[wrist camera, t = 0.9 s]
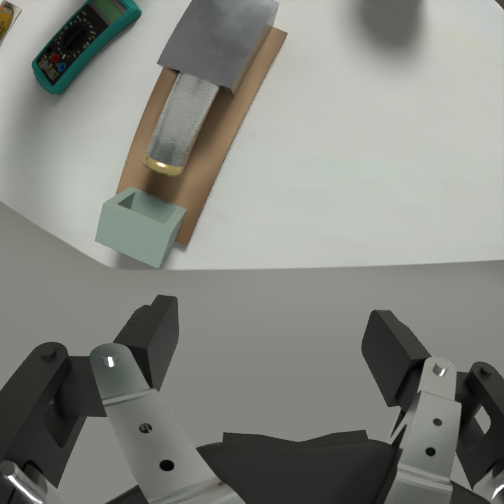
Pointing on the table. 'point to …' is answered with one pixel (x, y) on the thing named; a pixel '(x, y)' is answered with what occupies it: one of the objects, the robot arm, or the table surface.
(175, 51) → the sleeve
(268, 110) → the table surface
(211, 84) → the tube
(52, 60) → the digital multimeter
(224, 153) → the board
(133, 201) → the socket
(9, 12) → the condiment
